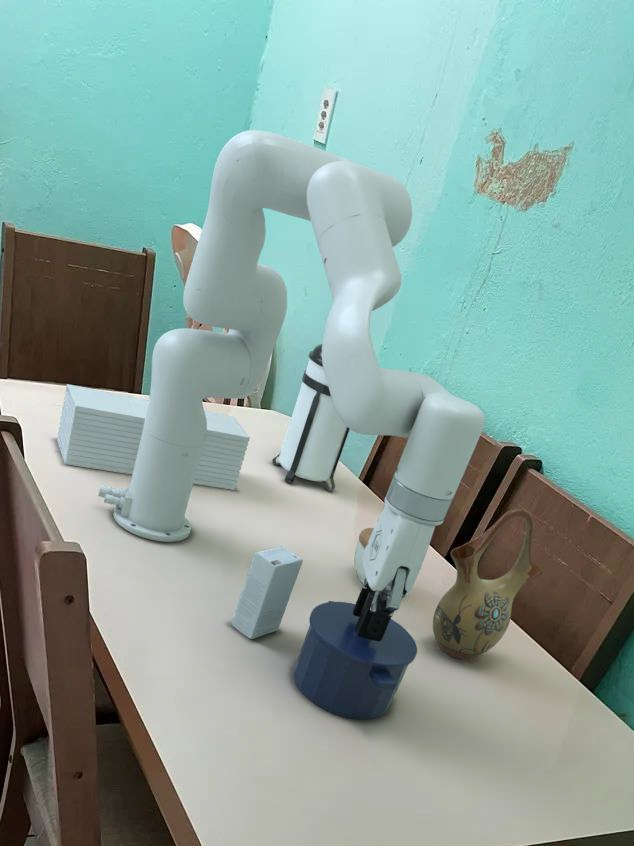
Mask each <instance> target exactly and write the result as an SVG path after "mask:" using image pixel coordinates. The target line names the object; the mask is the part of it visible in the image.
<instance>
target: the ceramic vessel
mask: <svg viewBox="0 0 634 846" xmlns="http://www.w3.org/2000/svg"><path fill="white" fill-rule="evenodd" d="M517 517H519V518H523V519H524V520H525V522H526V523H525V524H526V525H525V533H524V538H523V542H522V546H521V549H520V552H519V553H518V556H517V559H516V561H515V563H514V564H513V565H512V567H511V568H510V570H509V571H507V573H505V574H504V575H502V576H500V577H498V578H495V579H486V578H485V579H483V578H480V577H479V574H478V565H479V562H480V559H481V558H482V555H483V554H484V552H485V550H487V548H488V546H489V545H490V544H491V542H492V540H493V539H494V538H495V537H496V535H497V534H498V533H499V531H500V530H501V529H502V528H503V526H505V525H506V523H507V522H509V520H511V519H513V518H517ZM534 529H535V520H534V517H533V515H532V513H531V512H530V511H528V510H525V509H524V508H515V509H511V510H509V511H507V512H505V513H503V515H501V516H500V517H499V518H498V519H497V520H496V522H494V523H493V524H492V525H491V526H490V527H489V528H488V529H486V531H484V532H482V533H481V534H480V535H478V536H477V537H475V538H473V539H471V540H470V541H468V542H466V543H463V544H462V545H460V546H455V547H454V548H453V549H451V550H450V553H449V555H450V558H451V559H452V561H453V563H454V566H455V568H456V578H455V579H456V580H455V582H454V584H453V585H452V586H451V587H450V588H449V589H448V590H447V591H446V592H445V593H444V595H443V596H442V597H441V598H440V599H439V602H438V604H437V606H436V608H435V611H434V613H433V618H432V632H433V637H434V639H435V642H436V644H437V645H438V647H439V648H440V650H442V651H443V653H445V654H447V655H449V656H451V657H454V658H456V659H465V660H466V659H472V658H475V657H478V656H481V655H483V654H485V653H486V652H488V651H490V650H491V649H493V647H495V646H496V645H497V644H498V643H499V641H501V639H502V638H503V636H505V634H506V631H507V630H508V627H509V625H510V622H511V618H512V610H513V602H514V599H515V597H516V596H517V594H518V592H519V591H520V589H522V587H523V586H524V585H525V584H527V583H528V582H530V581H532V580H533V579H535V578H536V577H538V576H541V575H542V574H544V573H545V572H544V570H543V569H542V568H541V567H540V566H539V565H537V564H536V562H534V560H533V559H532V545H533V537H534Z"/></svg>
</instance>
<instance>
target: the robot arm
mask: <svg viewBox="0 0 634 846" xmlns="http://www.w3.org/2000/svg"><path fill="white" fill-rule="evenodd" d="M211 177H212V178H211V184H210V191H209V200H208V207H207V212H206V216H205V219H204V223H203V226H202V228H201V231H200V234H199V238H198V241H197V244H196V248H195V251H194V254H193V258H192V262H191V265H190V267H189V271H188V273H187V278H186V281H185V284H184V288H183V293H182V295H183V296H182V303H183V304H182V305H183V308H184V311H185V313H186V315H187V316H188V317H189V318H191V320H193V321H195V322H196V323H198V324H201V325H204V326H209V327H214V328H219V329H228V332H227V333H226V332H218V331H213V330H205V329H197V328H188V327H187V328H186V327H184V328H183V327H182V328H175V329H171V330H169V331H167V332H165V333H163V334H162V335H161V336H160V337H159V338H158V339H157V341H156V342H155V344H154V347H153V350H152V357H151V378H150V391H149V398H148V400H149V403H148V408H147V413H146V417H145V422H144V427H143V431H142V436H141V440H140V444H139V449H138V453H137V457H136V462H135V466H134V470H133V475H132V474H131V480H130V484H128V485H127V488H122V487H121V488H120V489H118V488H115V487H112V486H108V485H106V484H100V486H99V491H98V497H101V498H104V501H103V503H104V504H109V505H115V507H114V510H113V518H114V520H115V522H116V523H117V525H119V526H120V527H121V528H123V529H124V530H126V531H127V532H129V533H131V534H133V535H135V536H138V537H141V538H143V539H147V540H151V541H156V542H164V543H173V542H181V541H183V540H185V539H187V538H188V537H189V536H190V533H191V530H192V524H191V522H190V521H189V520H188V518H187V517H186V516H185V515H186V512H187V508H188V505H189V501H190V497H191V493H192V490H193V485H194V484H193V482H194V478H195V475H196V471H197V467H198V464H199V460H200V456H201V452H202V449H203V445H204V441H205V437H206V432H207V420H206V415H205V412H204V411H205V409H204V405H203V401H204V399H210V398H213V399H229V400H230V399H231V400H232V399H233V400H237V399H243V398H247V397H249V396H250V395H252V394H253V393H254V392H255V391H256V390H257V388H258V386H259V385H260V383H261V381H262V379H263V378H264V375H265V372H266V370H267V368H268V364H269V362H270V359H271V356H272V354H273V351H274V349H275V346H276V343H277V341H278V339H279V335H280V333H281V330H282V328H283V325H284V322H285V319H286V315H287V309H288V291H287V286H286V283H285V280H284V278H283V277H282V275H281V274H280V272H278V271H277V270H276V269H275V268H273V267H271V266H269V265H266V264H262V263H258V262H259V259H260V256H261V253H262V251H263V248H264V245H265V242H266V235H267V234H266V231H267V229H266V218H265V217H266V216H265V213H264V209H267V210H269V211H275V212H277V213H280V214H284V215H288V216H290V217H294V218H298V219H300V220H301V219H302V220H305V221H309V222H310V223H311V226H312V229H313V233H314V237H315V241H316V244H317V248H318V251H319V254H320V258H321V262H322V265H323V269H324V271H325V275H326V279H327V282H328V286H329V289H330V293H331V297H332V306H331V308H330V310H329V313H328V315H327V318H326V321H325V325H324V330H323V336H322V343H321V344H322V363H323V369H324V373H325V376H326V380H327V383H328V387H329V390H330V394H331V397H332V401H333V403H334V406H335V408H336V411H337V413H338V415H339V417H340V418H341V420H342V421H343V423H344V424H345V425H346V426H347V427H348V428H349V429H350V430H351V431H352V432H355V433H357V434H358V435H359V434H360V435H365V436H392V437H401V438H407V441H406V443H405V446H404V449H403V451H402V454H401V456H400V459H399V462H398V464H397V467H396V469H395V471H394V474H393V476H392V479H391V482H390V484H389V487H388V489H387V492H386V495H385V497H384V500H383V501H384V504H385V505H384V506H383V508H382V510H381V512H380V514H379V516H378V518H377V520H376V522H375V525H374V527H373V528H374V529H373V532H372V534H371V536H370V538H369V541H368V543H367V545H366V548H365V550H364V553H363V556H362V563H363V567H364V571H365V575H366V578H365V580H364V584H363V587H361V589H360V592H359V594H358V597H357V600H356V602H355V603H354V604H355V607H354V609H353V615H354V616H358V617H360V614H361V612H362V609H363V607H364V604H365V602H366V599H367V597H368V594H369V592H370V591H376V592H375V595H374V598H373V601H372V604H371V608H367V610H366V612H365V615H364V617H363V620H362V622H361V625H360V627H359V630H358V636H359V637H362V638H366V639H370V640H374V641H381V640H382V638H383V636H384V633H385V631H386V629H387V626H388V624H389V622H390V619H392V618H393V616H394V614H395V611H398V610H400V607H401V604H402V599H405V598H407V597H408V596H409V595H410V593H411V592H412V589H413V587H414V585H415V583H416V580H417V578H418V577H419V574H420V572H421V569H422V566H423V563H424V560H425V558H426V555H427V553H428V549H429V547H430V544H431V540H432V538H433V535H434V531H435V528H436V526H441V525H442V524H444V521H445V519H446V516H447V514H448V512H449V509H450V507H451V505H452V503H453V500H454V497H455V495H456V493H457V491H458V488H459V486H460V484H461V481H462V479H463V477H464V474H465V472H466V470H467V467H468V465H469V463H470V461H471V458H472V455H473V454H474V452H475V449H476V447H477V444H478V442H479V439H480V437H481V435H482V432H483V430H484V427H485V423H486V418H485V414H484V412H483V411H482V410H481V409H480V407H478V406H477V405H476V404H474V403H472V402H470V401H468V400H466V399H463V398H461V397H459V396H456V395H453V394H452V393H451V392H450V391H448V389H446V388H445V387H444V386H442V385H441V384H440V383H439V382H438V381H436V379H434V378H432V377H431V376H429V375H427V374H424V373H421V372H416V371H406V370H403V369H393V368H385V367H381V366H380V365H379V364H380V363H379V362H378V358H377V355H376V351H375V348H374V344H373V340H372V335H371V327H370V325H371V316H372V312H373V311H375V310H377V309H379V308H381V307H382V306H384V305H386V304H388V303H389V302H390V301H392V299H393V298H395V296H396V295H397V294H399V291H400V289H401V286H402V274H401V270H400V267H399V263H398V260H397V257H396V253H395V250H394V247H396V246H398V244H399V243H401V242H402V241H403V240H404V239H405V237H406V235H407V234H408V232H409V230H410V228H411V224H412V219H413V204H412V199H411V196H410V194H409V191H408V189H407V188H406V186H405V185H404V184H403V183H402V182H401V181H400V180H399V179H398V178H397V177H395V176H393V175H391V174H388V173H385V172H382V171H380V170H377V169H374V168H371V167H369V166H366V165H364V164H360V163H357V162H354V161H352V160H350V159H347V158H345V157H343V156H340V155H337V154H335V153H332V152H329V151H326V150H323V149H321V148H318V147H315V146H313V145H310V144H307V143H306V142H305V143H304V142H302V141H300V140H297V139H294V138H292V137H288V136H286V135H283V134H280V133H276V132H273V131H268V130H260V129H249V130H244V131H241V132H239V133H236V135H234V136H232V137H231V138H230V139H229V140H228V141H227V142H226V143H225V144H224V146H223V147H222V149H221V150H220V153H219V155H218V156H217V159H216V162H215V164H214V168H213V173H212V176H211ZM387 586H391V590H388V589H386V587H387ZM381 595H386V596H387V597H388V599H387V600H384V599H383V600H382V601H380V598H381ZM379 601H380V602H379Z"/></svg>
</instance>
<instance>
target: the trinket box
mask: <svg viewBox="0 0 634 846" xmlns="http://www.w3.org/2000/svg"><path fill="white" fill-rule="evenodd" d="M373 529H374V527H367V528H364V529H363V530H361V531H360V533H359V536H358V540H357V544H356V546H355V550H354V555H353V564H354V568H355V569H354V570H355V572H356V574H357V575H358V580H359V582H361V584H363V585H364V580H365V578H366V575H365V571H364V567H363V563H362V556H363V553H364V550H365V548H366V545H367V543H368V541H369V538H370V536H371V534H372V532H373ZM386 589H388V590H391V586H387V587H386Z"/></svg>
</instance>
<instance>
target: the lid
mask: <svg viewBox="0 0 634 846" xmlns="http://www.w3.org/2000/svg"><path fill="white" fill-rule="evenodd" d="M375 592H376V591H370V592H369V594H368V597H367V599H366V602H365V604H364V607H363V609H362V612H361V614H360V617H358V616H354V615H353V609H354V607H355V604H356V603H352V602H346V601H334V602H329V601H327V602H323V603H320V604H318V605H317V606H315V607H314V608H313V609H312V610H311V613H310V615H309V626H311V628H312V630H313V632H314V633H315V635H316V636H317V637H318V638H319V639H320V640H321V641H322V642H323V643H324V644H325V645H327V646H328V647H329V648H331V649H332V650H334V651H335V652H337V653H339V654H341V655H342V656H344V657H346V658H349V659H351V660H353V661H356V662H359V663H362V664H365V665H369V666H373V667H378V668H390V669H391V668H400V667H404V666H407V665H408V666H409V665H411V663H413V662H414V660H415V659H416V656H417V654H418V647H417V643H416V640H415V639H414V638H413V636H412V635H411V634H410V632H409V631H408V630H407V629H406V628H405V627H403V625H401V624H399V623H398V622H397V621H396V620H394V619H393V618H391V619H390V622H389V624H388V626H387V629H386V631H385V633H384V636H383V638H382V640H381V641H374V640H370V639H366V638H362V637H359V636H358V630H359V627H360V625H361V622H362V620H363V617H364V615H365V612H366V610H367V608H371V604H372V601H373V598H374V595H375ZM388 597H389V596H386V595H381V598H380V601H382V600H383V599H384V600H387V599H388ZM380 601H379V602H380Z"/></svg>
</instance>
